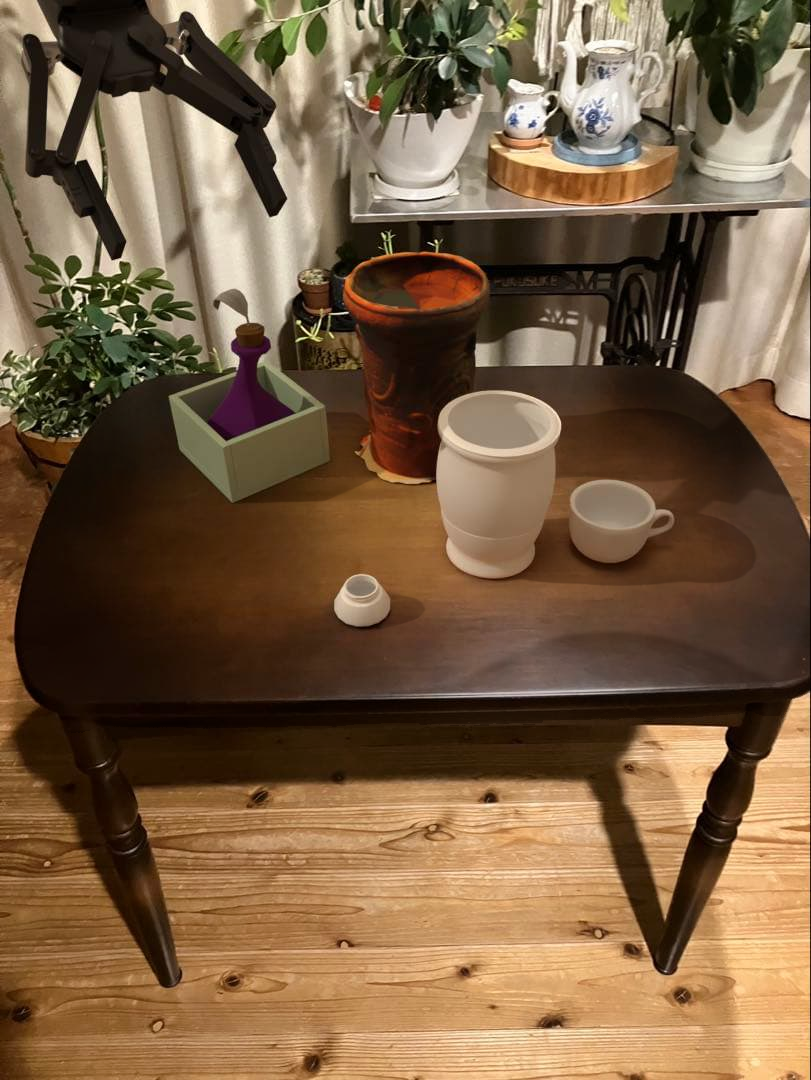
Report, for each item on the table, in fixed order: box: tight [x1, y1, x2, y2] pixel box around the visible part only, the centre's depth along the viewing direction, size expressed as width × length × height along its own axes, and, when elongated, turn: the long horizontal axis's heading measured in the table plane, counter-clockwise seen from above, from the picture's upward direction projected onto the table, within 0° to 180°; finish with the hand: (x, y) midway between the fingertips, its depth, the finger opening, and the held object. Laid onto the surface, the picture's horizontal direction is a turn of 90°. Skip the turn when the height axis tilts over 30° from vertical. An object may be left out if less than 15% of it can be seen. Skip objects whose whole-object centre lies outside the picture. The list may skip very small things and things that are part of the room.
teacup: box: [568, 479, 675, 564], centre depth 86 cm, size 10×8×5 cm
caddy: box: [168, 360, 331, 504], centre depth 98 cm, size 12×12×7 cm
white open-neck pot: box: [333, 573, 391, 627], centre depth 81 cm, size 5×3×5 cm
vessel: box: [342, 251, 491, 485], centre depth 95 cm, size 14×14×20 cm
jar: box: [435, 389, 562, 579], centre depth 83 cm, size 11×10×15 cm
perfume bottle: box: [207, 288, 296, 442], centre depth 94 cm, size 8×8×18 cm
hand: (202, 229), depth 70 cm, fingers open, 13 cm apart
